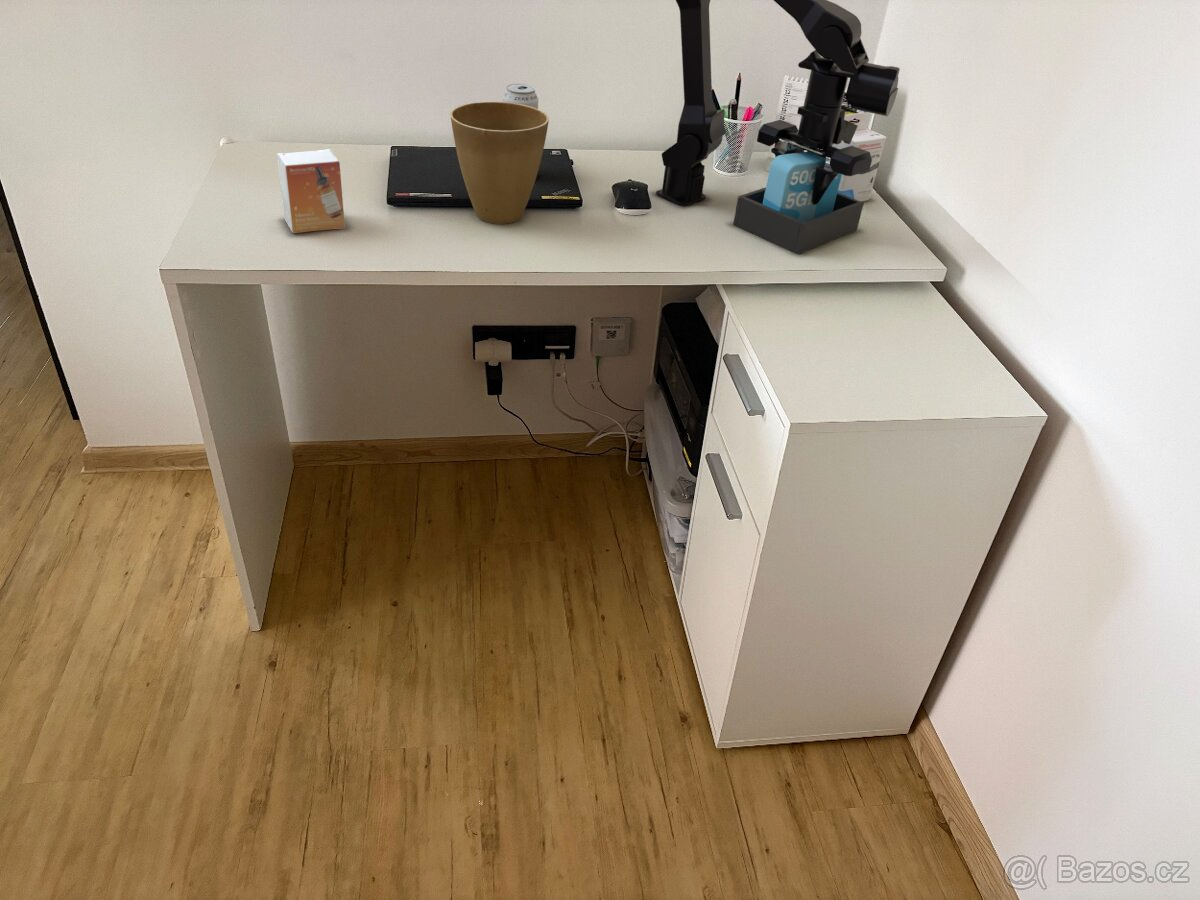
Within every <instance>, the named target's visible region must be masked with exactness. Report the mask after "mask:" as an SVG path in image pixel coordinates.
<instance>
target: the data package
mask: <svg viewBox="0 0 1200 900" xmlns="http://www.w3.org/2000/svg"><path fill="white" fill-rule="evenodd" d="M825 161H826V158H824V157H821V156H819V155H816V154H813V153H811V152H808V151H804V152H800V153H792V154H784V155H779V156H777V157H775V156H774V158H773V159H772V161H771V163H770V166H769V170H768V175H767V182H766V185H765V186H766V190H765V195H764V200H763V205H765V206H767V207H770V208H772V209H774V210H777V211H779V212H781V213H784V214H786V215H788V216H791V217H793V218H795V219H798V220H800V221H802V222H806V221H809V220H811V219H814V218H817V217H819V216H822V215H825V214H827V213H830V212H833V208H834V204H835V200H836V196H837V192H838V188H839V184H840V180H841V176H842V174H840V173H839V174H838V175H837V176H836V177H835V178H834V180H833V181H832V182H831V184H830V185H829V187H828V188H827V190H826V192H825V193H824V195H823V196H822V198H821V199H820V201H819V203H818V204H816V205H813V204H812V196H813V188H814V181H815V174H816V167H818V166H821V165H824V164H825Z"/></svg>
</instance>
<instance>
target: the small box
mask: <svg viewBox="0 0 1200 900" xmlns="http://www.w3.org/2000/svg"><path fill="white" fill-rule="evenodd" d="M276 160H277V168H278V178H279V183H280V192H281V201H282V210H283V218H284V221H285V222H286V224H287V226H288V228H289V229H290V231H291V233H292V234H300V233H308V232H317V231H318V232H319V231H327V230H328V231H329V230H341V229H345V228H346V227H345V226H346V225H345V211H344V199H343V188H342V176H341V163H340V161H339V159H338V158H337V157H336V155H335V153H334V152H333V151H332V149H330V148H325V149H319V150H318V149H317V150H307V151H297V152H296V151H294V152H277V153H276Z"/></svg>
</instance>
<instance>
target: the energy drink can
mask: <svg viewBox="0 0 1200 900" xmlns="http://www.w3.org/2000/svg"><path fill="white" fill-rule="evenodd" d="M502 102H508V103H516V104H522V105H526V106H530V107H533V108H536V109H538V110H539V97H538V95H537V93H536V87H534V86H532V85H530V84H527V83H511V84H508V85H506V90H505V92H504V94H503V95H502Z"/></svg>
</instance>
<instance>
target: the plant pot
mask: <svg viewBox="0 0 1200 900" xmlns="http://www.w3.org/2000/svg"><path fill="white" fill-rule="evenodd" d="M449 115H450V121H451V128H452V129H451V130H452V135H453V140H454V146H455V150H456V155H457V159H458V163H459V168H460V172H461V175H462V178H463V182H464V185H465V188H466V191H467V194H468V197H469V200H470V202H471V206H472V208H473V211H474V213H475V215H476V217H477V218H478V219H479V220H481V221H483V222H485V223H490V224H497V225H498V224H499V225H505V224H513V223H515V222H517V221H519V220H520V219H521V218H522V217H523V215H524V212H525V210H526V207H527V206H528V202H529V200H530V197H531V195H532V194H531V193H532V192H533V188H534V186H535V182H536V180H537V176H538V173H539V169H540V166H541V162H542V157H543V153H544V150H545V149H544V148H545V144H546V140H547V133H548V128H549V121H550V118H549V115H548V114H547V113H546V112H544V111H542V110H540V109H539V108H538V109H536V108H533V107H530V106H526V105H522V104H516V103H508V102H503V101H476V102H470V103H469V102H468V103H465V104H462V105H459V106H457V107H455V108H453V109H452V110H451V111H450V113H449Z"/></svg>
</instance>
